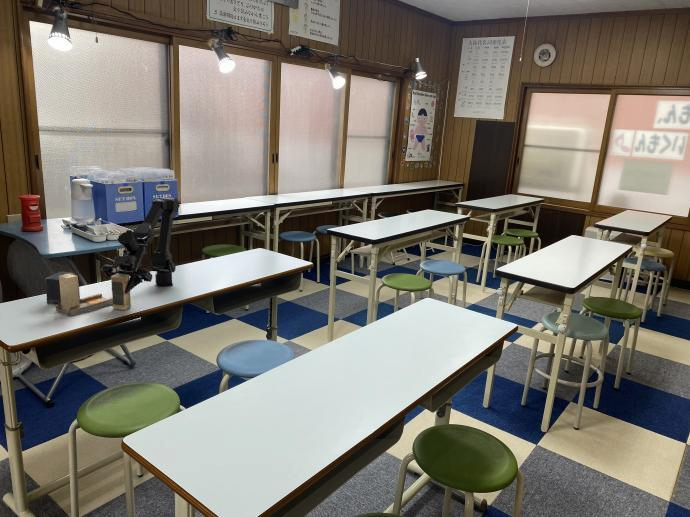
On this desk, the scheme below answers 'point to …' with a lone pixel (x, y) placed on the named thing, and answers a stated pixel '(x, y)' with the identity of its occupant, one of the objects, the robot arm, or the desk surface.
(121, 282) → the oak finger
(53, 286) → the small box
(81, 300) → the rail
